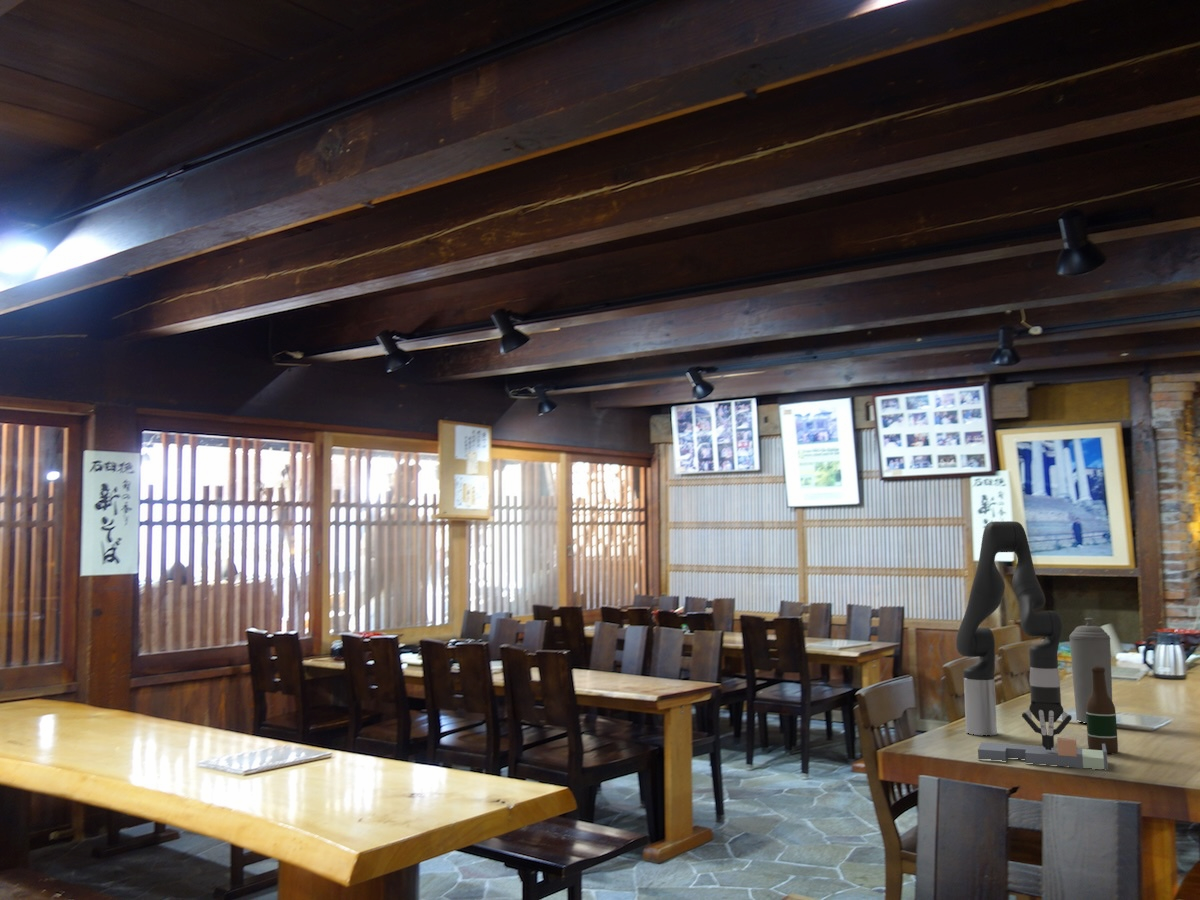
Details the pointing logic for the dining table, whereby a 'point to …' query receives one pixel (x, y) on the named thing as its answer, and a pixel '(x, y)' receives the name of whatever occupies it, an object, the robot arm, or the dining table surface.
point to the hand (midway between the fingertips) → (1048, 749)
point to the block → (1067, 746)
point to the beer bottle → (1101, 715)
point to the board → (1044, 755)
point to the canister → (1088, 663)
